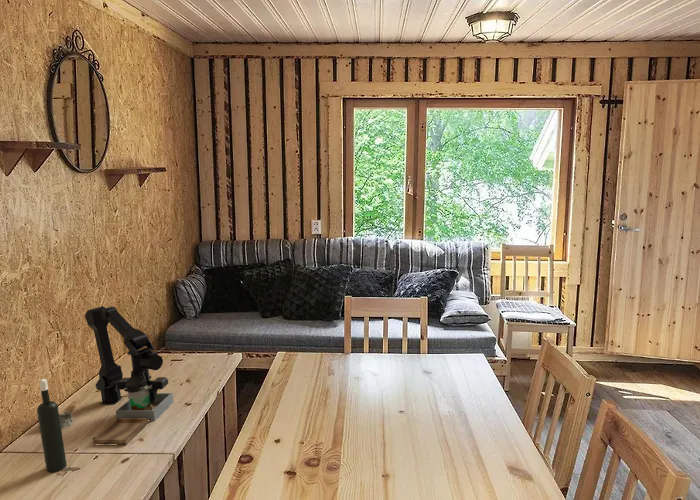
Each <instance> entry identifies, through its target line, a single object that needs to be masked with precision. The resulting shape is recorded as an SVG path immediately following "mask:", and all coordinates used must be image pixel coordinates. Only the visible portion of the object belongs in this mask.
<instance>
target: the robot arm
mask: <svg viewBox="0 0 700 500" xmlns="http://www.w3.org/2000/svg"><path fill="white" fill-rule="evenodd" d="M84 318H85V321H86V324H87V326H88V327H89V328H90V329H91V330H92V331H93V334H94V338H95V344H96V347H97V351H98V355H99V360H100V368H99V372H98V378H99V379H98V380H97V382H96V383H95V387H96V390H97V391H100V394H101V401H100V402H99V404H100V405H115V404H117V403H118V402H119V401H120V400H121V399H123V396H122V393H121V391H122V390H123V391H124V392H127V393H132V392H138V391H140V389H141V388H144V387H145V386H151V388H150V389H149V390H148V391H149V392H150V400H151V404H152V405H154V404H155V403H154V400H155V397H156V394H157V393H158V391H159V390H162V389H165V387H166V386H168V385H169V379H168V378H167V377H165V376H161V377H160V376H159V377H156V378H155V379H154V380H153V379H152V375H150V371H151V370H152V371H158V370H160V369H161V368H162V367H163V366H162V365H163V363H164V359H163V357H162V356H161V355H159V354H158V351H155V347H154V345H153V343H152V342H151V340H150V339H149V337H148V335H147V334H146V333H144V332H143V331H142V330H140V329H139V328H138V329H136V328H134V327H133V326H132V325H131V324H130V323H129V322H128V321H127V320H126V319H125V318H124V317H123V315H121V313H120V312H118V310H117V307H115V306H109V307H105V306H103V305H101V306H97V307H93V308H90V309H87V310H86V313H84ZM109 324H110V325H111V326H112V327H113V328H114V329H115V331H116V332H118V333H119V335H120V336H121V337H122V338H123V344H124V346H125V347H126V348H127V349H128V352H127V355H129V356H130V359H131V366H132V367H131V368H132V370H131V371H130V377H123V376H124V373H123V371H122V366H121V365H118V364H117V363H116V362H115V359H114V354H113V350H112V346H111V339H110V336H109V335H110V334H109V332H108V325H109Z"/></svg>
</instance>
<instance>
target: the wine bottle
mask: <svg viewBox="0 0 700 500" xmlns="http://www.w3.org/2000/svg"><path fill="white" fill-rule="evenodd" d="M38 382H39V383H38V384H39V390H40V394H41V400H42V403H40V404H39V405H38V406H37V407H36V411H37V413H36V415H37V419H38V426H39V430H40V437H41V438H40V439H41V443H42V450H43V456H44V462H45V468H46V472H48V473H57V472H60V471H62V470H64V469H65V468H66V467H67V458H66V457H67V456H66V453H65V446H64V439H63V433H62V427H61V425H60V419H59V415H60V413H59V407H58V403H57V402H55V401H53V400H51V399H50V393H49V385H48V379H47V378H42V379H38ZM63 468H64V469H63ZM61 469H62V470H61Z"/></svg>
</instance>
